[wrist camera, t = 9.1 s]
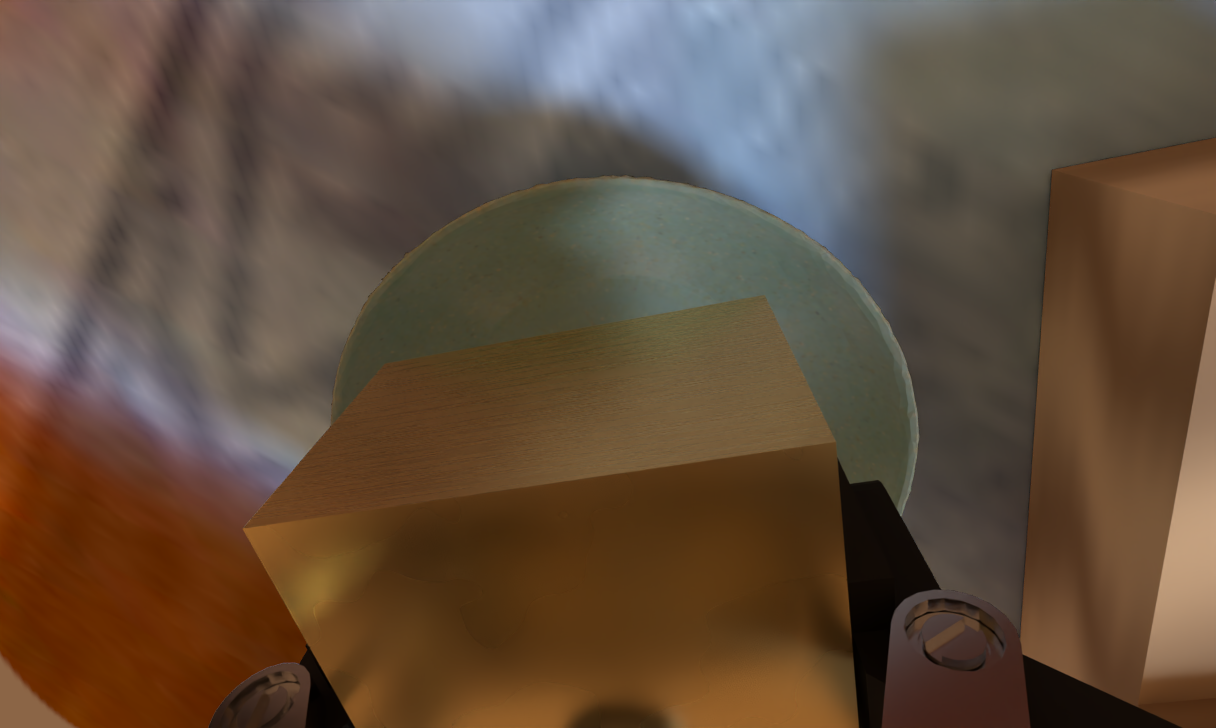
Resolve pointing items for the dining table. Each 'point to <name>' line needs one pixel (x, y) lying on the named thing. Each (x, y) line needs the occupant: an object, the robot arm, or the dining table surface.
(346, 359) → the saucer
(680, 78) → the dining table surface
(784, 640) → the yellow rectangular block
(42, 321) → the dining table surface
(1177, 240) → the wooden peg block
